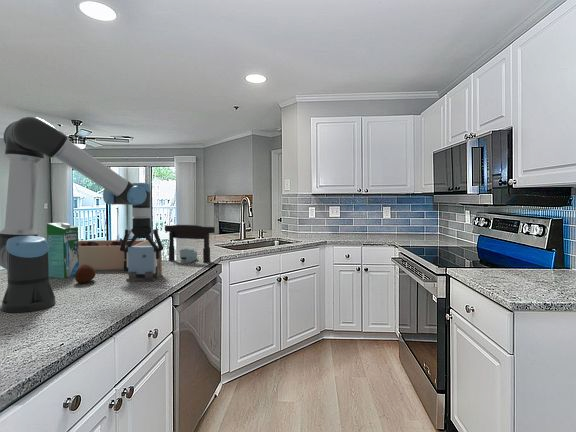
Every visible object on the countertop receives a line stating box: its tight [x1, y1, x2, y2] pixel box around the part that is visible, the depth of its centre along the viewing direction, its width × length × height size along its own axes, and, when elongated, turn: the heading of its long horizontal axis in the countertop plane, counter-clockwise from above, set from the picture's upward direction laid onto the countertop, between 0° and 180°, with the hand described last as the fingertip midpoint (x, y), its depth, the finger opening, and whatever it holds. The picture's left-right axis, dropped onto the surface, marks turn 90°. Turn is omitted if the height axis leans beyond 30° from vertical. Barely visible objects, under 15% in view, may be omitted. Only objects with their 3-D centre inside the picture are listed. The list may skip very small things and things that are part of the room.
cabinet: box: [125, 245, 163, 282], centre depth 180 cm, size 14×12×14 cm
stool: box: [164, 224, 216, 264], centre depth 228 cm, size 16×21×33 cm
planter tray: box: [78, 239, 150, 271], centre depth 214 cm, size 27×38×12 cm
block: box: [127, 245, 156, 275], centre depth 175 cm, size 4×11×12 cm, turn 95°
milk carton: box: [46, 221, 79, 279], centre depth 184 cm, size 9×9×25 cm
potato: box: [74, 265, 96, 284], centre depth 171 cm, size 8×12×8 cm, turn 10°
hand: (142, 266), depth 176 cm, fingers closed on block, 11 cm apart
